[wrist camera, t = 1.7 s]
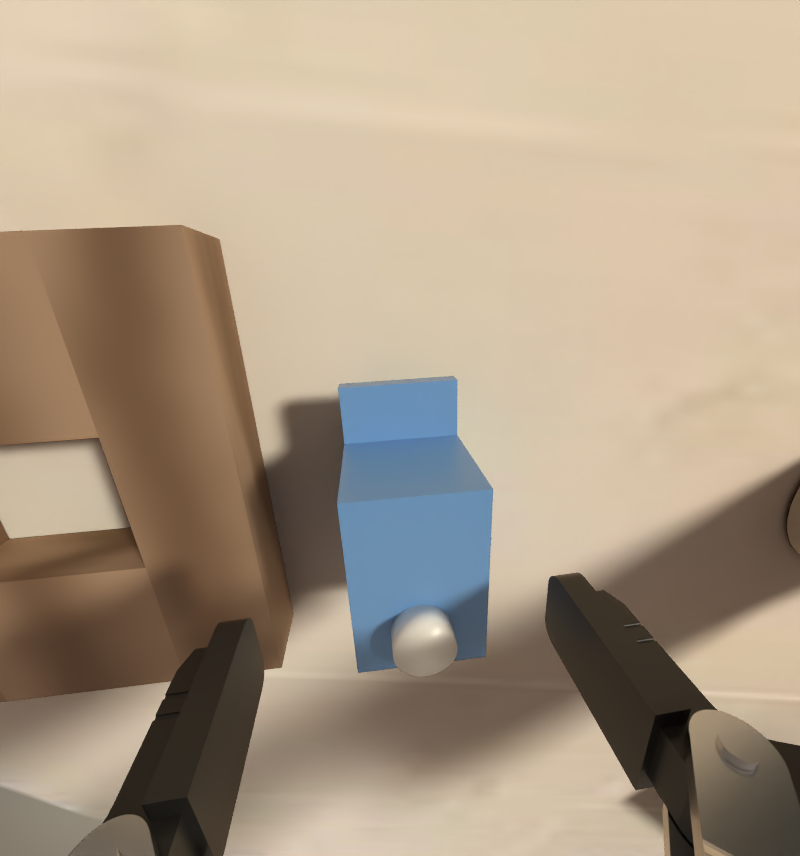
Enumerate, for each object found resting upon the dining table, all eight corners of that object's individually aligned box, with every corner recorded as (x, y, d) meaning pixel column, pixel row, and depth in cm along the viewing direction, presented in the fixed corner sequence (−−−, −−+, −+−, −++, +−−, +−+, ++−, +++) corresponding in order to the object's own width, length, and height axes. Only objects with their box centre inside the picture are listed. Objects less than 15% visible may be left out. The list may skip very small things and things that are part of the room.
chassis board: (219, 239, 13) (181, 225, 11) (293, 614, 20) (281, 667, 17) (-275, 259, 12) (-463, 248, 9) (-30, 650, 19) (-100, 714, 16)
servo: (343, 367, 16) (324, 442, 8) (437, 361, 16) (508, 427, 8) (363, 560, 19) (363, 744, 11) (439, 552, 19) (491, 726, 12)
